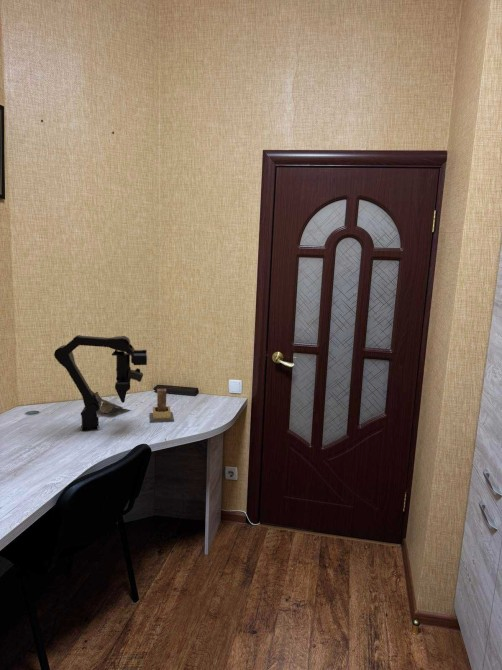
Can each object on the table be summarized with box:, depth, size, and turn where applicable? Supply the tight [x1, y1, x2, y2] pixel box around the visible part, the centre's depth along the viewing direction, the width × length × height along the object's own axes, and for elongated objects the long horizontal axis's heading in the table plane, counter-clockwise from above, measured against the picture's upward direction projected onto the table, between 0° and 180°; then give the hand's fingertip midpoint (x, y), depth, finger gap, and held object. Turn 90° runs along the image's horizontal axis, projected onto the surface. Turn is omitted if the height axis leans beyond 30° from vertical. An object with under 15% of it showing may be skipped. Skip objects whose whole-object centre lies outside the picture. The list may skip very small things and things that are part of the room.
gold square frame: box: [149, 405, 175, 423], centre depth 216 cm, size 11×11×4 cm
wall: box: [99, 398, 130, 414], centre depth 222 cm, size 16×9×15 cm
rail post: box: [156, 388, 167, 411], centre depth 216 cm, size 4×4×13 cm
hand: (123, 399), depth 201 cm, fingers open, 9 cm apart
